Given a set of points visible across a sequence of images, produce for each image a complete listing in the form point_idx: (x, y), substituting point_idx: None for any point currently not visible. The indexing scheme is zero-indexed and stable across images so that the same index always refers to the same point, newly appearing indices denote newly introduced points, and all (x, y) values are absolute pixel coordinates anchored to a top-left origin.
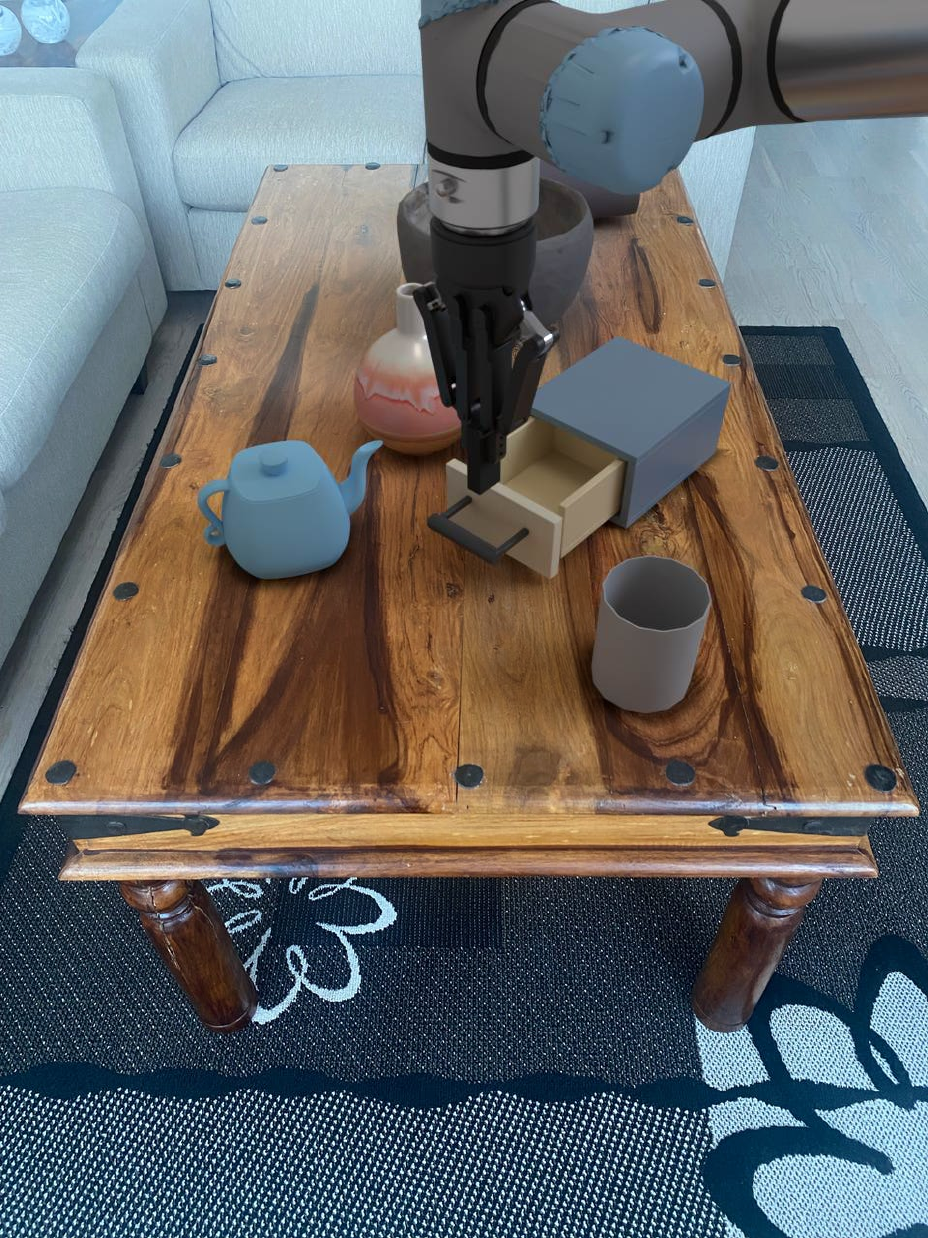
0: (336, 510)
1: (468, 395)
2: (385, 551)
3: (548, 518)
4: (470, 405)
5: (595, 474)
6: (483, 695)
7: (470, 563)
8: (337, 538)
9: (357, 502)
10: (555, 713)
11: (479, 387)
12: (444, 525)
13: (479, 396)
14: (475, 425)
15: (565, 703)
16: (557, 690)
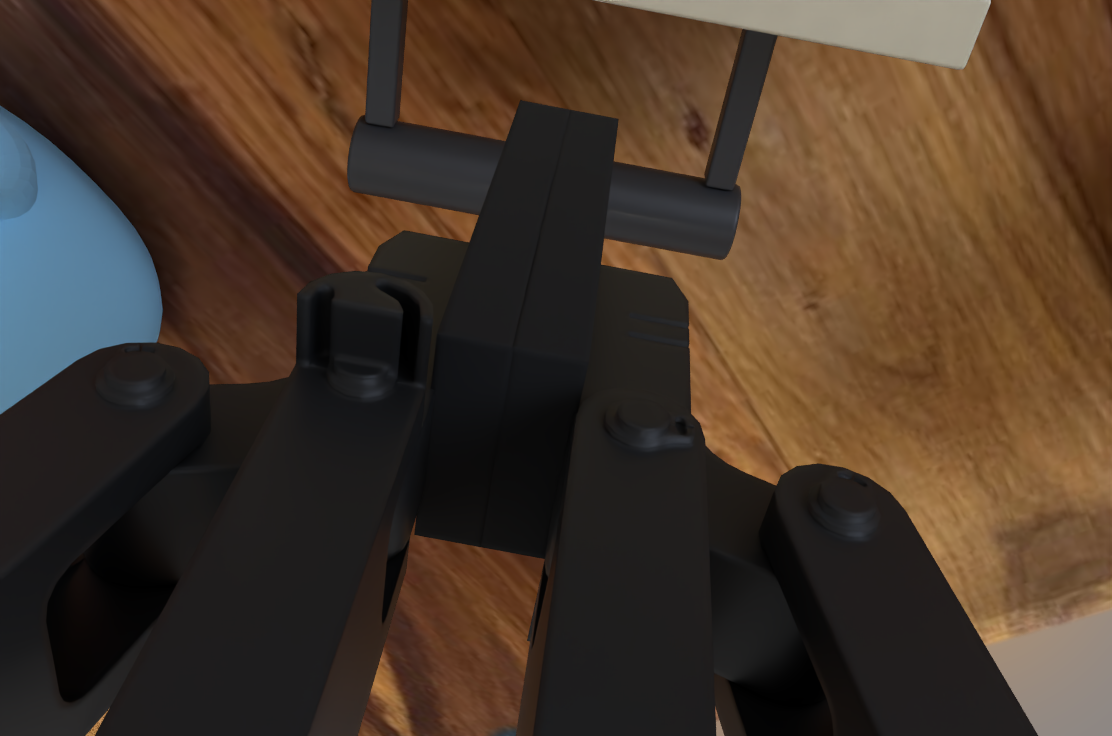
0: (41, 333)
1: (355, 734)
2: (228, 116)
3: (917, 46)
4: (383, 621)
5: None
6: (851, 450)
7: (528, 5)
8: (127, 333)
9: (24, 184)
10: (1070, 419)
11: (359, 642)
12: (439, 202)
13: (384, 566)
14: (467, 508)
15: (1091, 381)
16: (1054, 354)
